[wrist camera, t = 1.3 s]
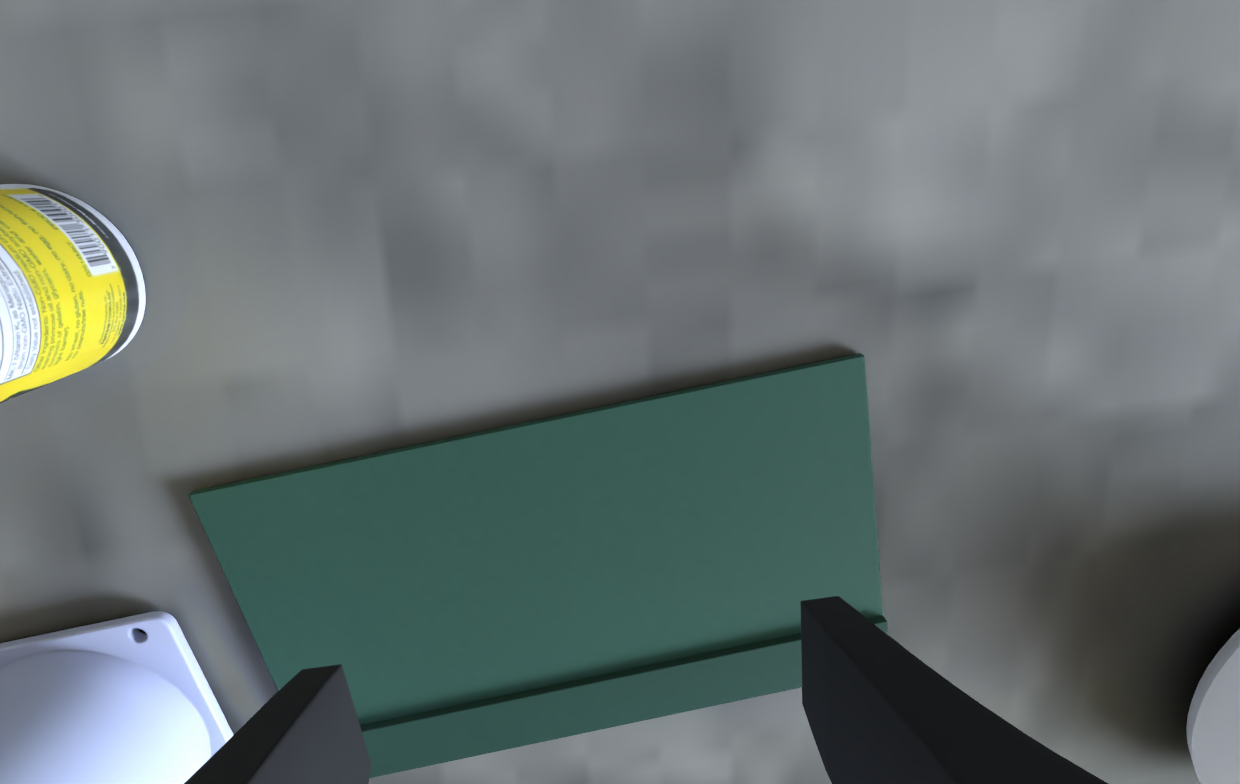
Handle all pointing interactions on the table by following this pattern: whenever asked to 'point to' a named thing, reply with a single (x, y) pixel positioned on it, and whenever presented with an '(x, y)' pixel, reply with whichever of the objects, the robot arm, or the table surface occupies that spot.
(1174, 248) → the table surface
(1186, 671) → the table surface
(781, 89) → the table surface
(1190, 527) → the table surface
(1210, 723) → the flower in vase
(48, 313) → the supplement bottle
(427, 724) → the green board
